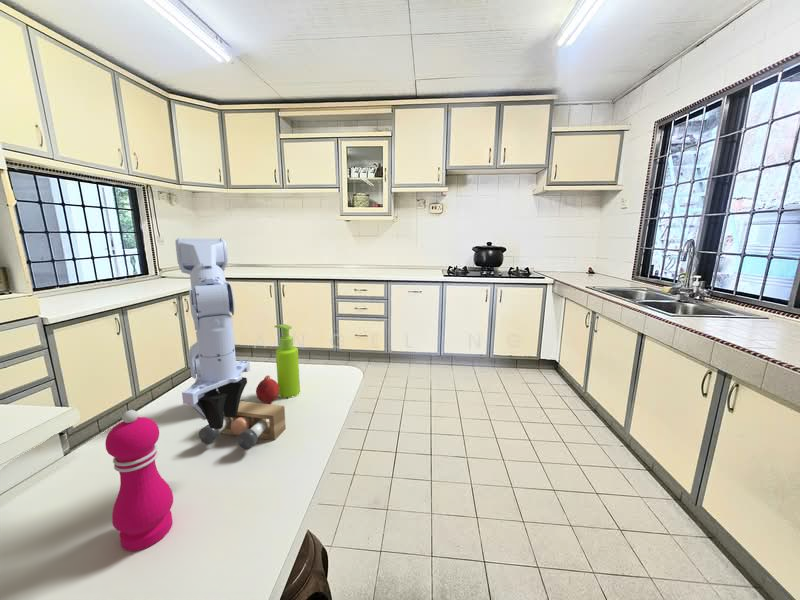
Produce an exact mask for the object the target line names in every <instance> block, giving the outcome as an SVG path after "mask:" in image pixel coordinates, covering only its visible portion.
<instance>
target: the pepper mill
mask: <svg viewBox="0 0 800 600" xmlns="http://www.w3.org/2000/svg"><path fill="white" fill-rule="evenodd" d="M121 420H122V421H121V422H118V423H117V424H116V425H115V426H113V427H112V428H111V429H110V431H109V432H108V433H107V436H106V439H105V445H104V446H105V450H106V452H107V454H108V455H110V456H111V457H113V459H112V463H113V465H114V466H113V468H114V470H115V471H117V472H119V477H120V478H119V479H120V482H119V483H120V485H119V491H118V493H117V497H116V500H115V502H114V504H113V509H112V513H111V515H112V516H111V518H112V519H111V520H112V525H113V527H114V529H116V531H118V532H119V540H120V546H121V547H122V549H124V550H125V551H129V552H136V551H141V550H144V549H147V548H149V547H152V546H154V545H155V544H156V543H158V542H159V541H160V540H162V539H164V538H165V536H166V535H167V534H168V533H169V532H170V530H171V528H172V527H173V524H174V523H173V516H172V515H173V514H172V511H171V508H172V507H173V503H174V495H173V490H172V489H171V487H170V485H169V484H168V482H166V480H165V479H164V478H163V477H162V476H161V474H160V472H159V471H158V468H157V465H156V459H157V458H158V455H159V451H158V445H156V443H157V442H158V440H159V438H160V428H159V426H158V424H157V423H156V421H154V420H153V419H151V418H150V417H146V416H145V417H144V416H140V417H139V414H138V412H137V410H135V409H134V410H133V409H130V410H127V411H125V412H124V413H122V416H121Z"/></svg>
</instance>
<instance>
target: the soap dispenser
mask: <svg viewBox="0 0 800 600" xmlns="http://www.w3.org/2000/svg"><path fill="white" fill-rule="evenodd" d="M274 328H279V329H282V330H281V331H282V336H281V337H280V338H279V348H277V349H276V350H275V360H276V375H277V384H278V385H279V388H280V391H279V395H280V396H281V397H280V396H279V395H278V396H279V397H280V398H282V397H291V398H293V397H292V396H295V395H297V394H298V395H299V394H300V393H299V392H301V387H300V384H301V383H300V368H299V367H300V366H299V349H298V347H296V346H294V343H293V341H294V340H293V336H291V335H290V330H291V329H293V327H292V325H288V324H285V323H282V324H278V325H274ZM298 395H297V396H298ZM295 397H296V396H295Z"/></svg>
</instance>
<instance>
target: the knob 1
mask: <svg viewBox="0 0 800 600" xmlns="http://www.w3.org/2000/svg"><path fill="white" fill-rule="evenodd" d="M223 418H224V422H223V427H222V428H221V429H213V428H210V426H209V423H208V424H207V425H205V426H204V427H202V428H201V429H200V430H199V432H198V437H199V440H200V441H201V442H202V443H203V444H206V445H210V444H212V443H213V442H215V441H216V440H217V439H219V436H220V434H221V433H220V432H221V431H223V430H224V429H225V428H227V427H228V426H229V425H230V424H231V419H230V417H225V416H223Z"/></svg>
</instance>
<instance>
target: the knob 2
mask: <svg viewBox="0 0 800 600" xmlns="http://www.w3.org/2000/svg"><path fill="white" fill-rule="evenodd" d="M266 422H267V421H266ZM266 422H265V421H264V420H260V421H258V422H257V423H256V424H255V425H254V426H253V427H252V428H251V429H246V430H244V431H243V432H242V433H241V434H239V435H237V437H236V442H237V445H238V446H239V447H240V448H241V449H243V450H250V449H251V448H252V447H253V446H254V445H255V444H256V443H257V442H258V438H257V437H258V436H260V435H261V434H262V433H263V432H264V431H265V430H266V429H267V427H268V425H267V423H266Z"/></svg>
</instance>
